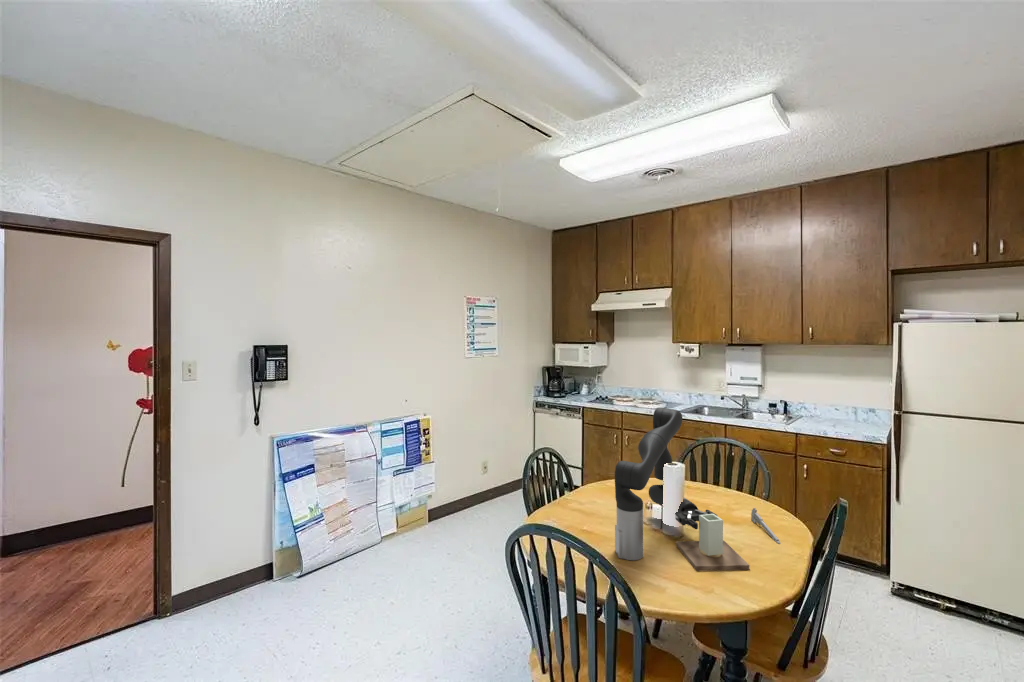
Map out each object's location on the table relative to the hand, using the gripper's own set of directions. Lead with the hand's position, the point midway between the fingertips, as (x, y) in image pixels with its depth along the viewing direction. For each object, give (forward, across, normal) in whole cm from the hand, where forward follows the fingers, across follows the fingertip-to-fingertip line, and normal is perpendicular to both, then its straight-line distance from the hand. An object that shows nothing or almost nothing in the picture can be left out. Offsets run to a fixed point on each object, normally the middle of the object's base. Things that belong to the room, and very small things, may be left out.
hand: (707, 525), depth 168 cm
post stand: (+2, 0, +10) cm, 11 cm away
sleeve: (+2, 0, +8) cm, 8 cm away
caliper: (-12, +33, +11) cm, 36 cm away
